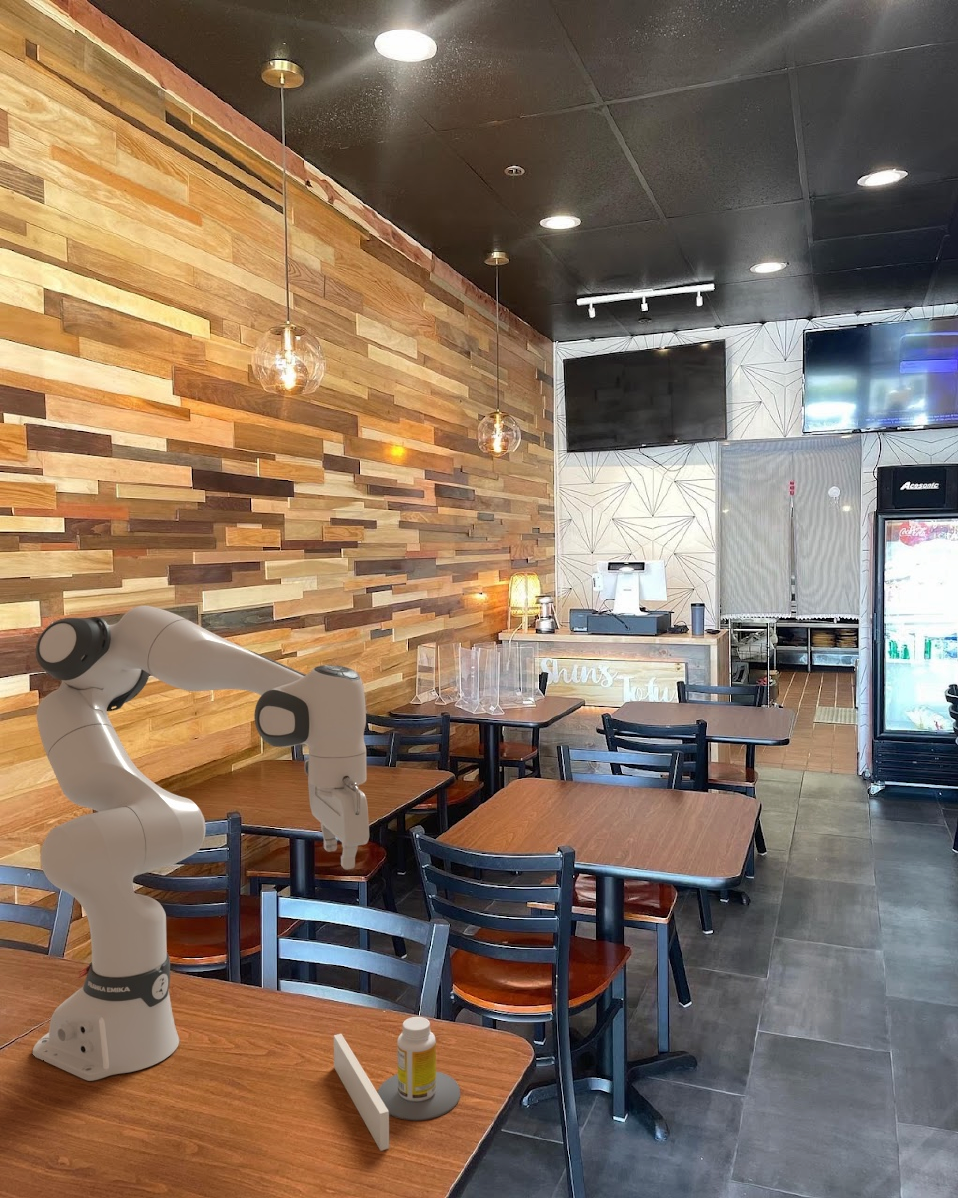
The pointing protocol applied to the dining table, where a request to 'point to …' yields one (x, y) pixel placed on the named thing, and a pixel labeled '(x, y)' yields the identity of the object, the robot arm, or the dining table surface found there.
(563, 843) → the dining table surface
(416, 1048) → the supplement bottle
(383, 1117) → the low wall
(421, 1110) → the rest mat
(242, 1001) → the dining table surface
